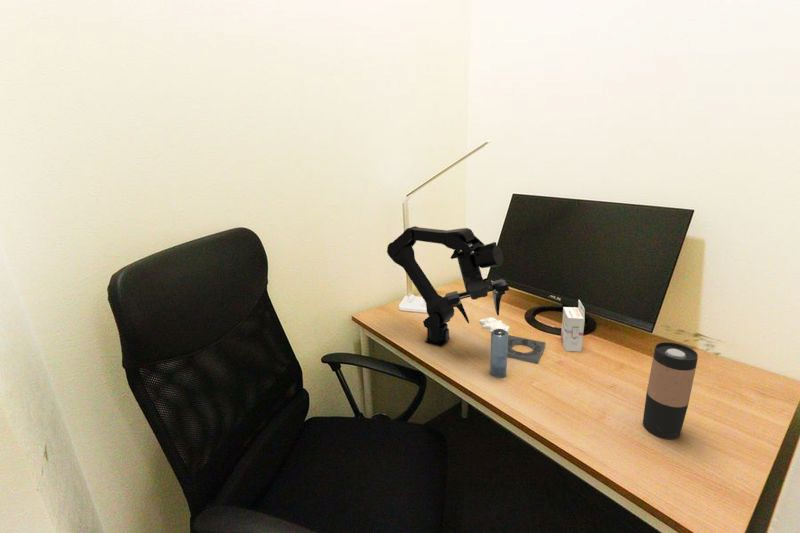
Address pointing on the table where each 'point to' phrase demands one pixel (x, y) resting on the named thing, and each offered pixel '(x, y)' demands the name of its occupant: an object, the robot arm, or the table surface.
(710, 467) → the table surface
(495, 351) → the thermos bottle
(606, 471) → the table surface
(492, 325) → the astronaut figurine
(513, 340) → the square metal washer
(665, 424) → the travel mug
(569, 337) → the ink cartridge box
